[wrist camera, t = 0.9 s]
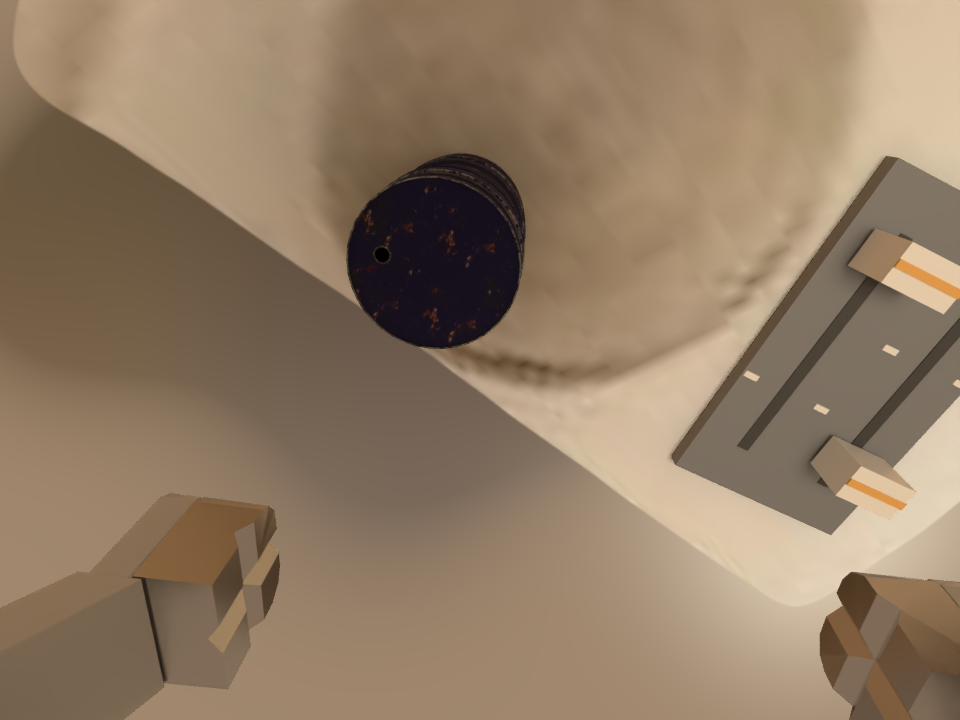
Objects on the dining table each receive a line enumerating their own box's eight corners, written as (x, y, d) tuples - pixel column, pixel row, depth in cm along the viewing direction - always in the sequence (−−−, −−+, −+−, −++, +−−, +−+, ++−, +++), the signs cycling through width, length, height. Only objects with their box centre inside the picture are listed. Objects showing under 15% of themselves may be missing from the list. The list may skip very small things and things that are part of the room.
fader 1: (875, 228, 42) (914, 242, 38) (933, 258, 42) (978, 275, 38) (847, 265, 43) (882, 283, 39) (904, 294, 44) (945, 315, 39)
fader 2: (833, 435, 49) (862, 467, 44) (884, 459, 49) (917, 493, 45) (810, 462, 50) (836, 496, 46) (860, 486, 50) (890, 521, 46)
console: (886, 156, 42) (900, 158, 40) (1068, 253, 43) (1088, 258, 42) (671, 455, 53) (675, 466, 51) (823, 524, 54) (832, 536, 53)
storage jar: (541, 170, 44) (545, 200, 30) (508, 293, 48) (499, 368, 34) (411, 137, 44) (356, 152, 30) (389, 263, 48) (332, 327, 34)
